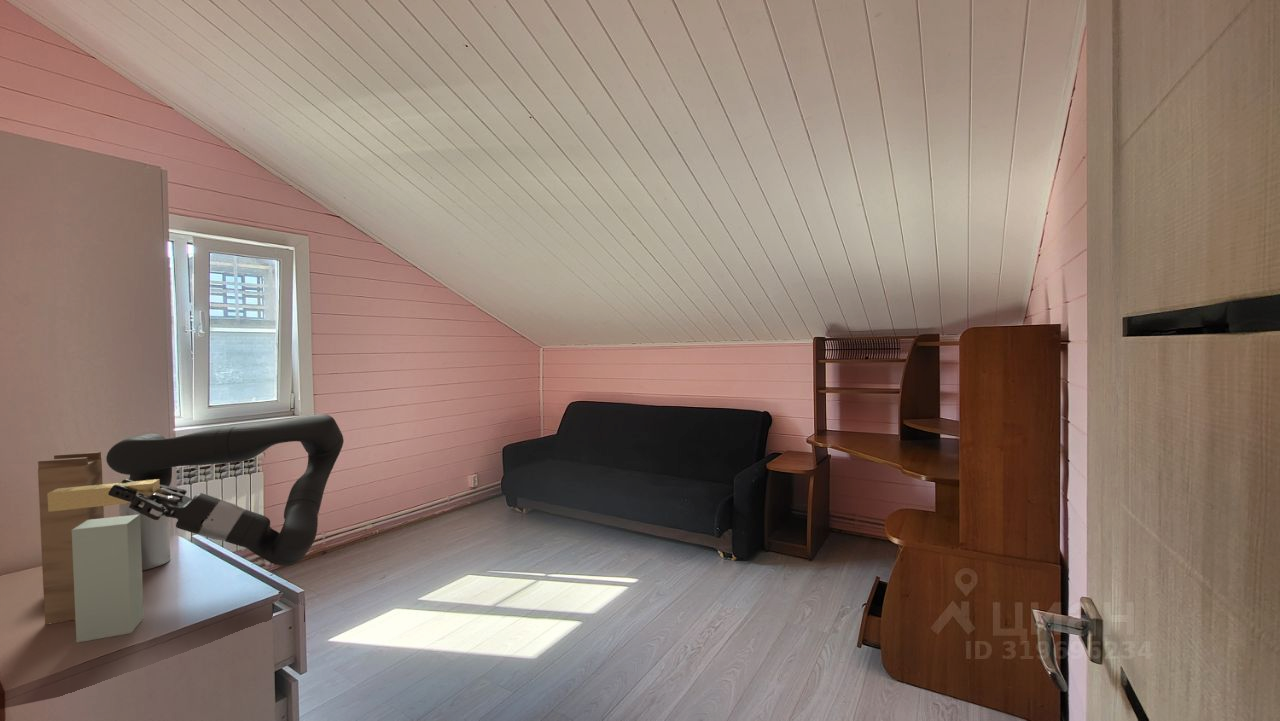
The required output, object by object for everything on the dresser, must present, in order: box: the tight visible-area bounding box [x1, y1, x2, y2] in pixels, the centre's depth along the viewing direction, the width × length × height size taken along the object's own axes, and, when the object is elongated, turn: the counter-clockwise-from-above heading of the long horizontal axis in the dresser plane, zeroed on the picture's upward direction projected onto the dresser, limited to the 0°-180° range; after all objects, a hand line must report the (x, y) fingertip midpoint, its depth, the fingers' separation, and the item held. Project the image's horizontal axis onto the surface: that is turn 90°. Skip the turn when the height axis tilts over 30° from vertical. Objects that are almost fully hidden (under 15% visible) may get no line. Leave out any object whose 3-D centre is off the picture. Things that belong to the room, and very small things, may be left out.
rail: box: [47, 479, 160, 512], centre depth 105 cm, size 4×15×4 cm, turn 115°
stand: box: [37, 451, 105, 625], centre depth 112 cm, size 7×7×34 cm
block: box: [72, 514, 145, 644], centre depth 106 cm, size 6×8×22 cm
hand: (116, 486), depth 106 cm, fingers closed on rail, 3 cm apart
